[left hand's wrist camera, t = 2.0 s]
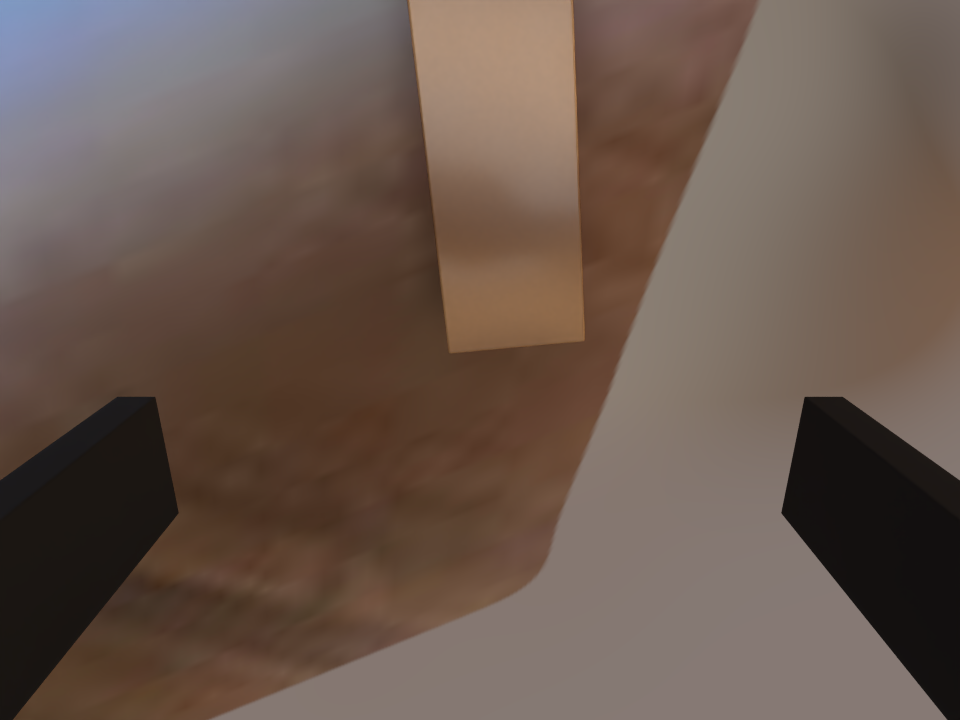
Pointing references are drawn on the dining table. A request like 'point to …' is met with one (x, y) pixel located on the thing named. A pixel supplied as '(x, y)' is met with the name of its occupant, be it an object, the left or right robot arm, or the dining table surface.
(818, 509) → the left robot arm
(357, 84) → the dining table surface
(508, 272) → the post
